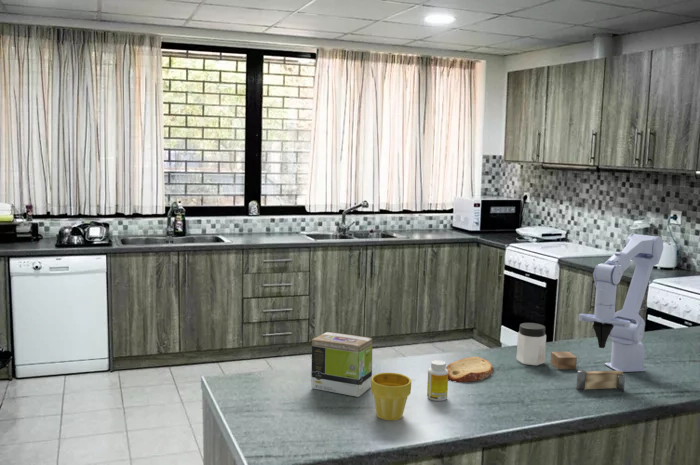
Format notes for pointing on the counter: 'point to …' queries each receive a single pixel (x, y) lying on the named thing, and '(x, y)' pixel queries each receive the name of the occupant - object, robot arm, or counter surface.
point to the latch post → (620, 383)
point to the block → (563, 360)
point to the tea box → (341, 363)
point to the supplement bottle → (437, 381)
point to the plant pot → (390, 394)
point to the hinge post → (581, 380)
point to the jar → (531, 344)
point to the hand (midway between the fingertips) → (601, 347)
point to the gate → (601, 379)
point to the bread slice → (469, 369)
